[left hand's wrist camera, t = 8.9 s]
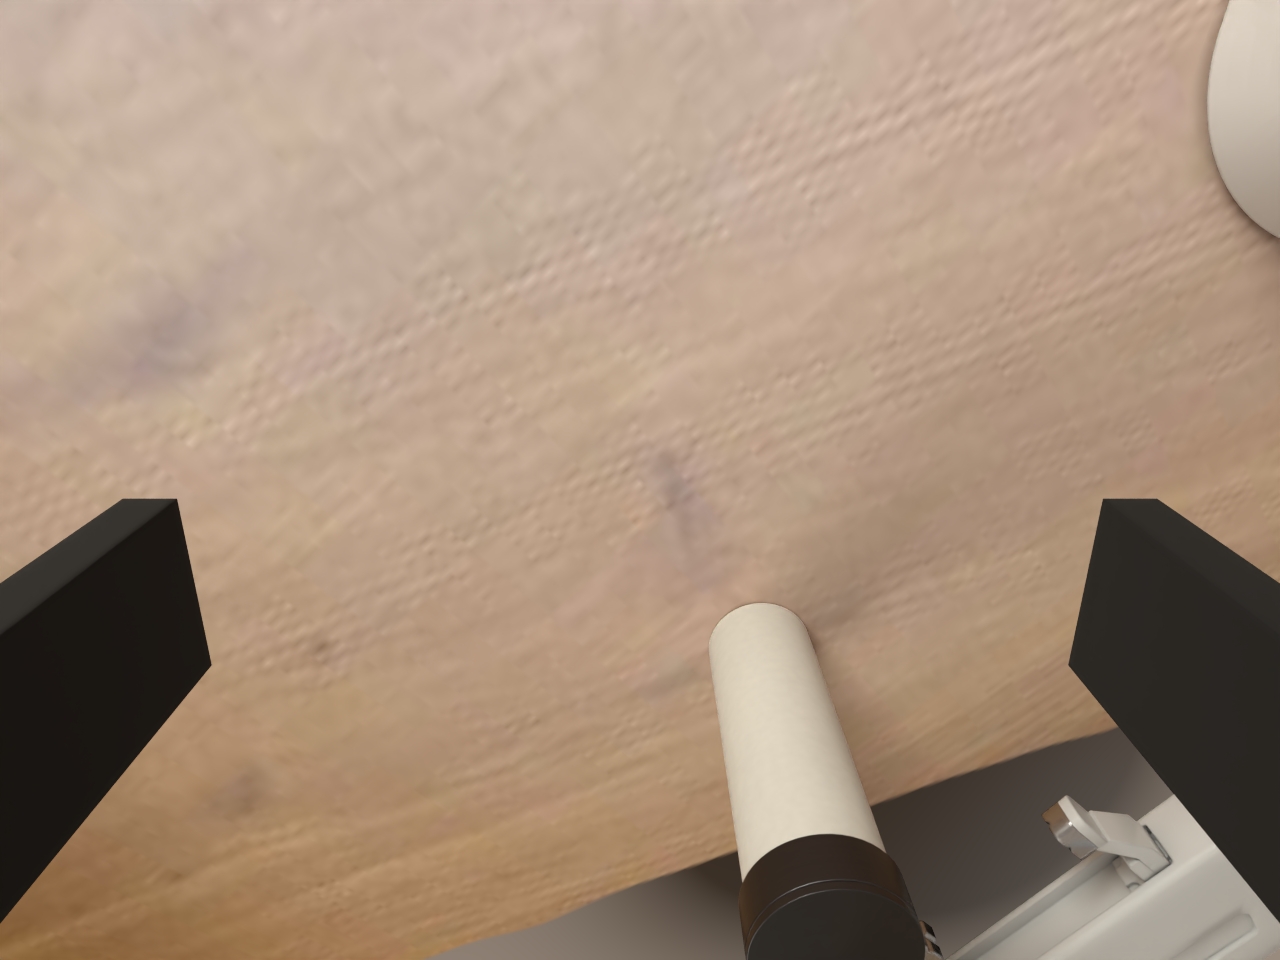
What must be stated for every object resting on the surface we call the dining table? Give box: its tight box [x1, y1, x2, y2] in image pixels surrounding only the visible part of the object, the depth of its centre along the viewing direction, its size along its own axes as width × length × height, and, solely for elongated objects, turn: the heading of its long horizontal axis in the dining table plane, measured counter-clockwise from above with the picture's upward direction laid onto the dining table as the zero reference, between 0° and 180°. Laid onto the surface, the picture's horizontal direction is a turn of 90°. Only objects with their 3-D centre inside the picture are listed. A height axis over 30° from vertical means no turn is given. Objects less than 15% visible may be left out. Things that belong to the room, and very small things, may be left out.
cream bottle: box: [709, 603, 886, 882], centre depth 35 cm, size 5×5×17 cm
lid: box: [739, 834, 926, 960], centre depth 28 cm, size 5×6×2 cm
